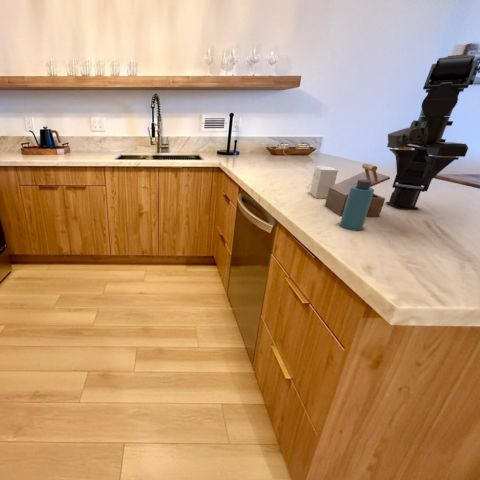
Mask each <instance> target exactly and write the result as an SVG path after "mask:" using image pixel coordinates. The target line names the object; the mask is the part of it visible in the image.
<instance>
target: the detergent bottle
mask: <svg viewBox="0 0 480 480" xmlns="http://www.w3.org/2000/svg"><path fill="white" fill-rule="evenodd" d="M370 185H371V181H369V180H358V181H357V185H356V186H351V187H350V191H349V194H348V198H347V201H346V205H345V208H344V212H343V215H342V216H341V219H340V223H339V226H340V227H341V228H343V229H347V230H350V231H361V230H363V228H364V224H365V221H366V219H367V216H366V215H367V212H368V209H369V206H370V203H371V199H372V196H373V193H374V194H375V189H374V188H373V187H370Z"/></svg>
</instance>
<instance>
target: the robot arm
mask: <svg viewBox="0 0 480 480" xmlns="http://www.w3.org/2000/svg"><path fill="white" fill-rule="evenodd" d="M475 58H476V56H475V55H474V54H472V55H470V54H455V55H447V56H444V57H439V58H438V59H437V60H436V63H432V64H431V66H430V69H429V72H428V74H427V77H426V80H425V83H424V85H423V87H422V90H423V91H424V90H425V93H426V94H427V95H425V97H424V99H423V100H422V102H421V110H420V113H419V116H418V119H416V120H412V122H411V123H410V126H409V127H405V128H402V129H399V130H395V131H392V132H389V133H388V134H387V146H386V147H387V148H389V149H388V150H389V151H390V152H392V154H393V155H394V156H395V165H396V166H395V167H396V174H395V177H394V180H393V183H392V186H391V188H393V189H394V190H393V191H392V192H391V195H390V198H389V200H388V201H386V202H385V204H387V205H389V206H392V207H394V208H396V209H398V210H399V209H400V210H419V207H418V206H416V205H417V202H418V200H419V197H420V194H421V192H422V193H425V192H428V190H429V187H430V186H431V183H432V180H433V179H434V178H435V177H436V176H437V175H438V174H439V173H441V172H442V171H443V170H444V169H445V168H447V167H448V166H449V165H450V164H452V163H453V162H454V161H458V160H459V159H460V158H462V157H463V158H465V157H466V155H467V153H468V151H469V146H468V145H467V143H462V142H451V141H448V142H446V141H447V139H445V138H443V136H444V133H445V132H446V129H447V127H448V126H449V127H452V126H453V123H454V121H453V120H450V118H451V116H452V113H453V111H454V108H455V107H456V105H457V104H458V101H459V95H460V93H463V92H464V91H465V89H468V88H469V86H472V85H473V84H474V82H475V79H476V76H477V74H478V71H479V68H480V67H479V65H478V64H479V61H478V60H475Z"/></svg>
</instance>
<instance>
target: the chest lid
mask: <svg viewBox="0 0 480 480" xmlns="http://www.w3.org/2000/svg"><path fill="white" fill-rule="evenodd" d="M361 168H362V169H363V170H364V171H362V172H359V173H358V174H356V175H353V176H351V177H349V178H346V179H344V180H341V181H340V182H337V183H335V184H334V185H332V186H330V187H329V188H330V189H331V190H333V191H335V192H337V193H339V194H341V195H343V196H345V197H348V194H349V191H350V187H351V186H356V185H357V181H358V180H369V181H371V185H370V188H373V187H374V186H377V185H379V184H382V183H384V182H386V181H389V180H391V177H390V176H389V175H384V174H383V173H379V172H377V170H378V166H376V165H373V164H369V163H363V164H361Z"/></svg>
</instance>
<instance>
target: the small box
mask: <svg viewBox="0 0 480 480" xmlns="http://www.w3.org/2000/svg"><path fill="white" fill-rule="evenodd" d="M313 170H314V171H313V174H312V180H311V183H310V188H309V193H310V194H311V196H313V197H314V198H315V199H327V195H328V191H329V189H330V188H329V187H330V186H332V185H335V184H336V180H337V177H338V176H337V175H338V171H339V170H338V169H336V168H335V167H332V166H328V165H326V166H325V165H324V166H322V165H315V166H314V169H313Z"/></svg>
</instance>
